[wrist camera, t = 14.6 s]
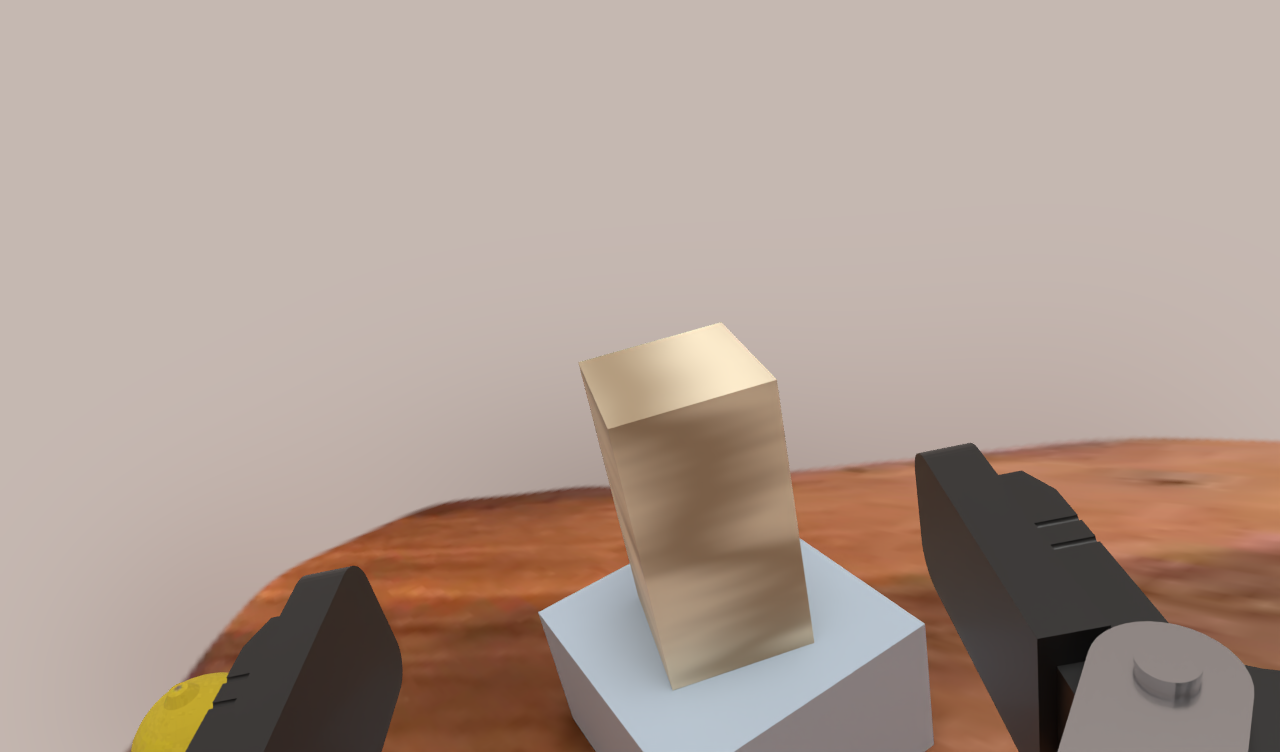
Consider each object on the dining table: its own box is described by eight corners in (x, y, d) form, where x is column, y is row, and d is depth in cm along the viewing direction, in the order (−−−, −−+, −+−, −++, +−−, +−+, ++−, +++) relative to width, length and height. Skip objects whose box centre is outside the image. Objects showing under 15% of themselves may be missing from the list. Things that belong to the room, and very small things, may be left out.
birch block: (761, 556, 32) (721, 322, 28) (814, 642, 28) (776, 379, 24) (638, 595, 32) (578, 362, 28) (672, 690, 27) (607, 429, 23)
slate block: (765, 608, 39) (746, 501, 36) (934, 750, 30) (925, 623, 28) (574, 722, 35) (538, 612, 32) (708, 919, 27) (673, 792, 24)
